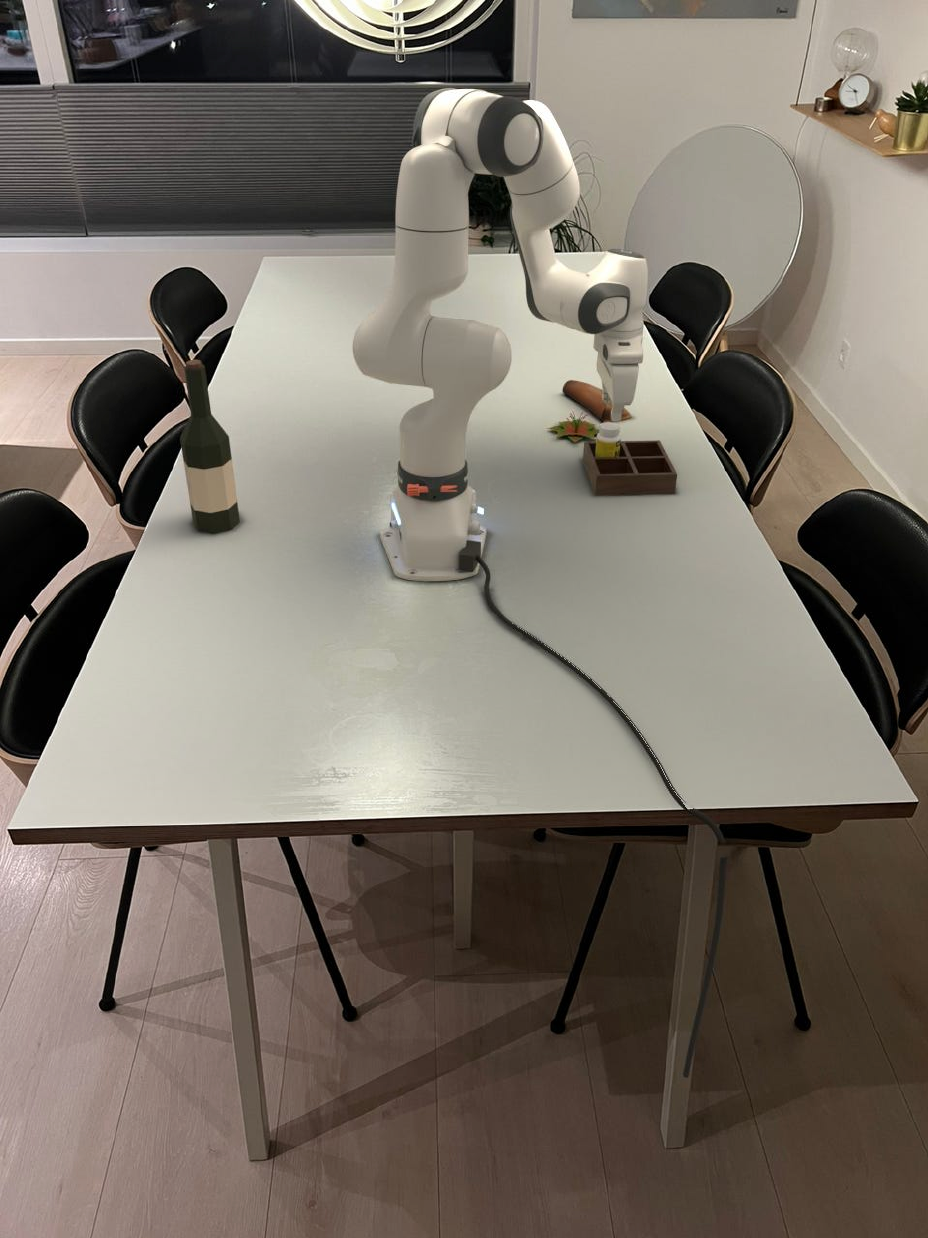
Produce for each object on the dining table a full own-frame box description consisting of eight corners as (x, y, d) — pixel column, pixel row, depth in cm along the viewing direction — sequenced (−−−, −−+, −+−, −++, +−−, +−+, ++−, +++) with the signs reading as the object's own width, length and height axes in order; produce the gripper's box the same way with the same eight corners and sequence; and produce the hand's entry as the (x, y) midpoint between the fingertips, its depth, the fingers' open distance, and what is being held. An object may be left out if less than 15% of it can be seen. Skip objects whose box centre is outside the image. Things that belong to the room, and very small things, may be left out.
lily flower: (578, 417, 230) (579, 397, 227) (616, 435, 222) (618, 415, 219) (536, 430, 224) (537, 410, 221) (573, 449, 216) (575, 429, 213)
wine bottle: (196, 512, 192) (172, 353, 175) (242, 510, 193) (222, 352, 176) (189, 534, 185) (163, 371, 169) (237, 533, 186) (216, 370, 169)
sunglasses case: (635, 415, 230) (624, 393, 225) (610, 435, 229) (598, 413, 225) (593, 387, 243) (582, 366, 239) (569, 406, 243) (557, 385, 239)
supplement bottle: (617, 471, 206) (621, 431, 201) (593, 469, 206) (596, 429, 202) (619, 461, 210) (622, 421, 205) (595, 459, 210) (598, 419, 206)
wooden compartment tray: (675, 493, 200) (677, 474, 197) (595, 495, 199) (596, 475, 197) (657, 458, 212) (659, 440, 210) (582, 460, 212) (584, 441, 209)
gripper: (592, 323, 202) (586, 391, 210) (610, 357, 185) (603, 431, 192) (624, 323, 203) (617, 391, 210) (645, 357, 185) (637, 430, 193)
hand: (611, 410), depth 201 cm, fingers open, 8 cm apart
